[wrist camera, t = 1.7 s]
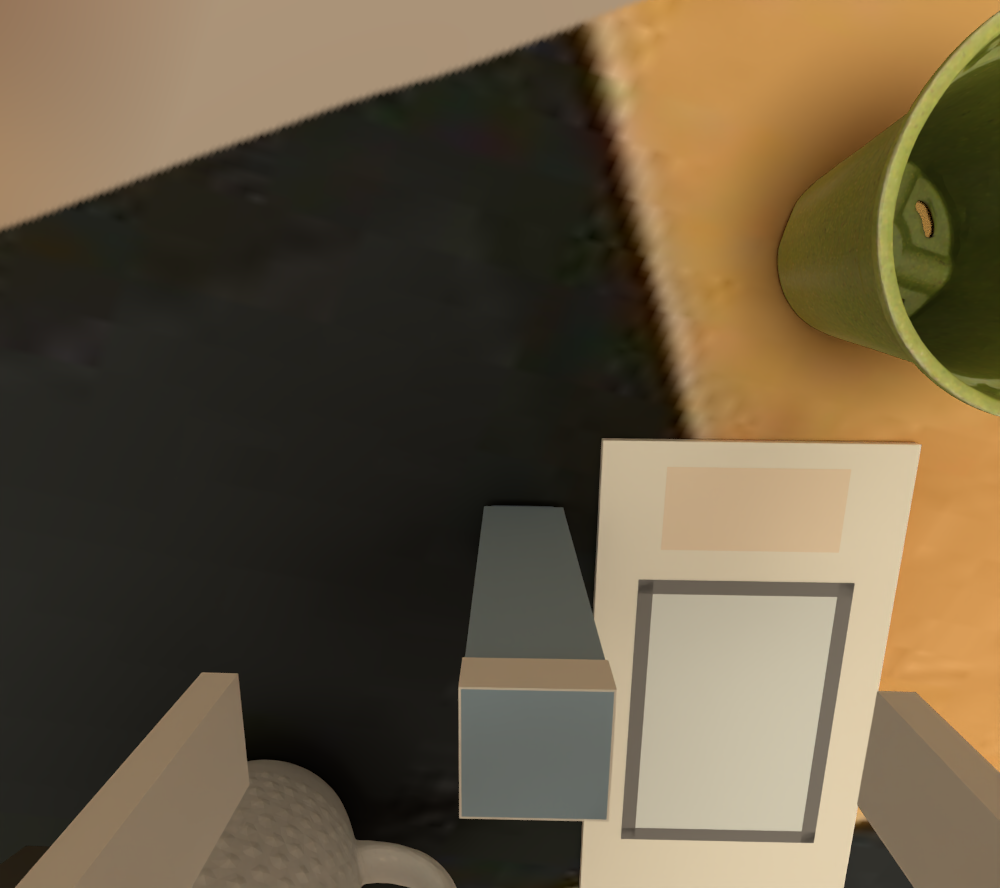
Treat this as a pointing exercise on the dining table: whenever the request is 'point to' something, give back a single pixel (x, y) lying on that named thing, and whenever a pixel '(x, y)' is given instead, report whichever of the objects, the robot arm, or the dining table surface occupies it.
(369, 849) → the mug
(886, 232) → the plant pot
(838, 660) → the sheet
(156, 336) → the dining table surface
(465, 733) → the square grey prism
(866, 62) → the dining table surface
